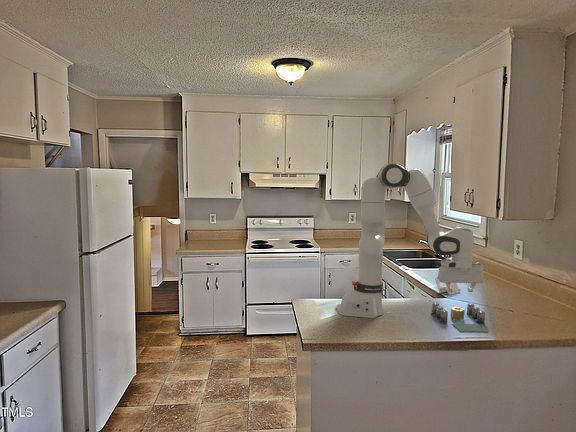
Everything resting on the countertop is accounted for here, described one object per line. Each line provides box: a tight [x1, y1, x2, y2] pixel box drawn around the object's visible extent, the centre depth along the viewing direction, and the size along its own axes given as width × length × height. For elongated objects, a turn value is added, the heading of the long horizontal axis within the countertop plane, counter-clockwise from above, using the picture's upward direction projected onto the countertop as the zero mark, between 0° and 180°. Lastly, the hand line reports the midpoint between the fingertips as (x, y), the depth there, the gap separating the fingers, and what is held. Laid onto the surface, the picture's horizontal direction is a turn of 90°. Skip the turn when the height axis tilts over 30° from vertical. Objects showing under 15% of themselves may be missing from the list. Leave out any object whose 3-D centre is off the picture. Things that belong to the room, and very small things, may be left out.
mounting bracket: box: [434, 276, 462, 296], centre depth 223 cm, size 12×6×11 cm, turn 127°
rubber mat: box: [451, 323, 489, 333], centre depth 171 cm, size 12×8×1 cm, turn 91°
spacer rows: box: [431, 302, 486, 325], centre depth 183 cm, size 20×13×5 cm, turn 91°
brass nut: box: [450, 306, 466, 321], centre depth 183 cm, size 5×6×5 cm
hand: (460, 291), depth 182 cm, fingers open, 8 cm apart
